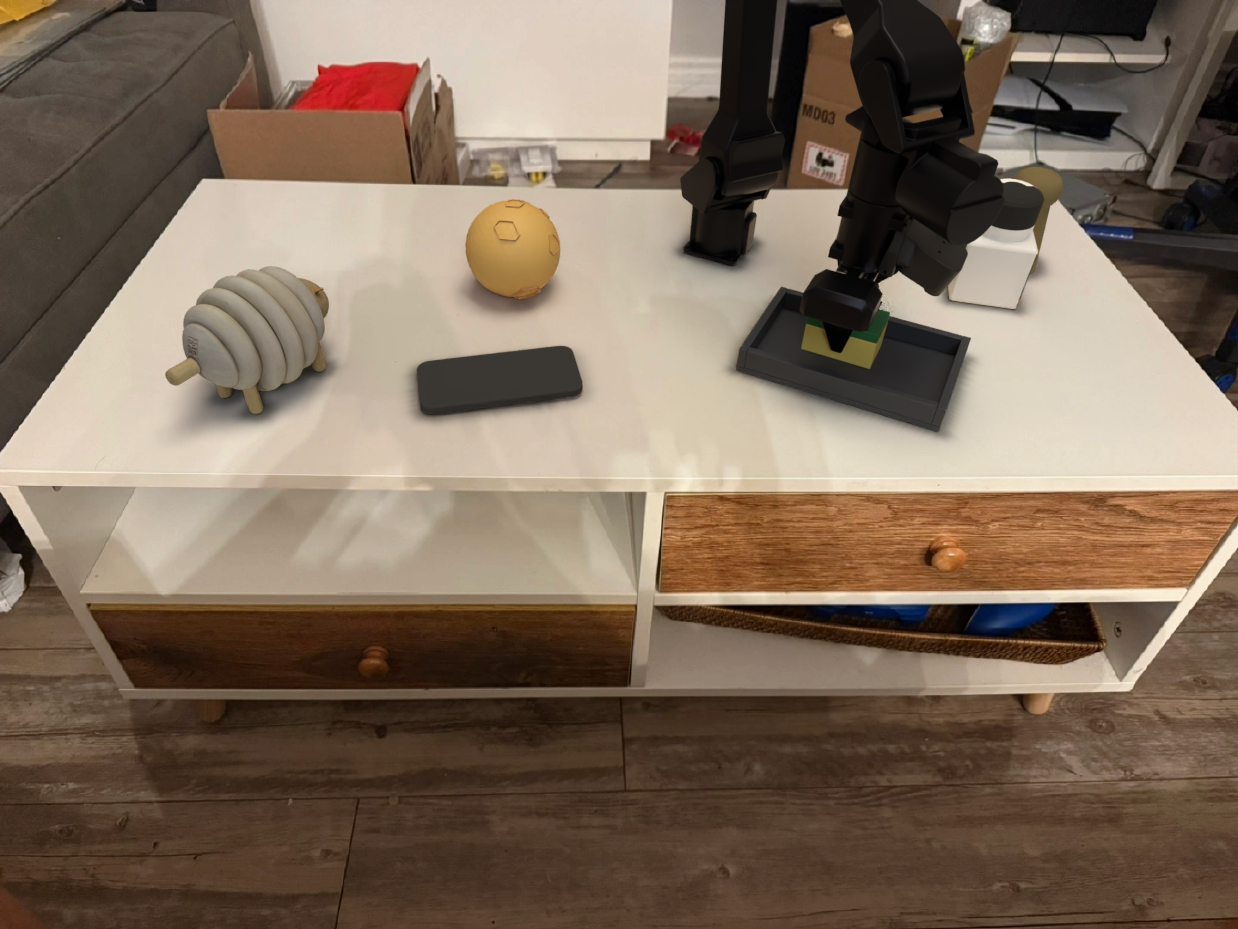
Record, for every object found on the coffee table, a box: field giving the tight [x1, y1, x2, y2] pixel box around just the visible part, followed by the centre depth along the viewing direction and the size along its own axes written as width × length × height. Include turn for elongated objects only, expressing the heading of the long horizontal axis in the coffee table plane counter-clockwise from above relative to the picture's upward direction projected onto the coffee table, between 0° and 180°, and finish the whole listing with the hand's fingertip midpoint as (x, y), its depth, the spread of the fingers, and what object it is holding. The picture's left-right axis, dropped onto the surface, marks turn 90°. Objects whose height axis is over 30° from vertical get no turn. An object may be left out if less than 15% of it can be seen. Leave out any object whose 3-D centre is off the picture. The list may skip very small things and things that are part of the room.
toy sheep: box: [164, 265, 330, 415], centre depth 79 cm, size 11×17×11 cm, turn 152°
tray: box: [735, 286, 972, 433], centre depth 87 cm, size 20×13×3 cm, turn 64°
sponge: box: [801, 308, 891, 369], centre depth 87 cm, size 7×4×4 cm, turn 64°
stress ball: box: [464, 198, 561, 300], centre depth 92 cm, size 10×10×10 cm
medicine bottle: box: [947, 178, 1044, 310], centre depth 94 cm, size 7×7×12 cm
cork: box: [1012, 166, 1064, 275], centre depth 99 cm, size 6×6×11 cm
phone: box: [416, 345, 584, 415], centre depth 84 cm, size 7×1×15 cm
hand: (843, 338), depth 88 cm, fingers closed on sponge, 4 cm apart
